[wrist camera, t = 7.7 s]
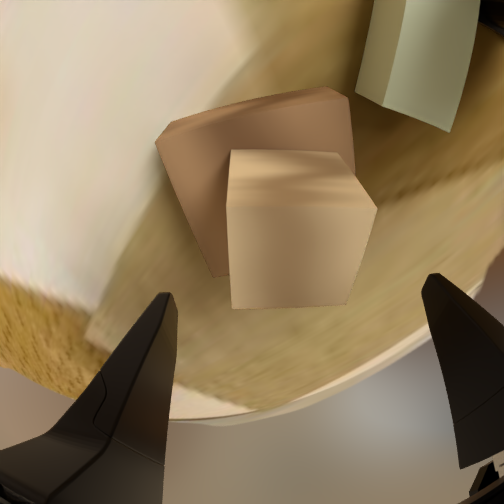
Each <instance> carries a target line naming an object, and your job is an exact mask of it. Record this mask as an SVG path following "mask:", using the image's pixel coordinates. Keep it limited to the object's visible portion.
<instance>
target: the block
mask: <svg viewBox="0 0 504 504" xmlns="http://www.w3.org/2000/svg"><path fill="white" fill-rule="evenodd" d="M479 7H480V0H374V6H373V11H372V16H371V21H370V26H369V31H368V36H367V40H366V45H365V49H364V54H363V58H362V63H361V67H360V71H359V75H358V80H357V84H356V88H355V92H356V93H358V94H360V95H362V96H364V97H365V98H367V99H369V100H371V101H373V102H375V103H377V104H379V105H381V106H383V107H386V108H389V109H391V110H394V111H397V112H400V113H403V114H405V115H408V116H411V117H413V118H416V119H418V120H421V121H423V122H426V123H428V124H431V125H433V126H435V127H438V128H440V129H442V130H445V131H447V132H449V133H450V130H451V127H452V124H453V121H454V118H455V115H456V112H457V109H458V105H459V102H460V99H461V95H462V91H463V88H464V84H465V80H466V76H467V72H468V68H469V64H470V60H471V55H472V50H473V45H474V40H475V34H476V28H477V22H478V15H479Z"/></svg>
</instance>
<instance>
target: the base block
mask: <svg viewBox="0 0 504 504" xmlns="http://www.w3.org/2000/svg"><path fill="white" fill-rule="evenodd" d="M155 144H156V146H157V149H158V151H159V154H160V156H161V159H162V161H163V164H164V166H165V169H166V171H167V174H168V176H169V178H170V181H171V183H172V186H173V188H174V190H175V193H176V195H177V198H178V200H179V202H180V205H181V207H182V209H183V212H184V214H185V216H186V218H187V221H188V223H189V225H190V228H191V230H192V232H193V234H194V237H195V239H196V241H197V243H198V246H199V248H200V250H201V252H202V255H203V257H204V259H205V261H206V263H207V265H208V268H209V270H210V272H211V274H212V276H213V278H214V277H219V276H224V275H229V274H230V270H229V253H228V234H227V213H226V203H227V191H228V179H229V167H230V156H231V150H240V149H266V150H303V151H322V152H337V153H338V154H339V155H340V156H341V158H342V159H343V160H344V162H345V163H346V164H347V166H348V167H349V168H350V170H351V171H352V173H353V174H354V175H355V177H356V173H355V159H354V146H353V135H352V126H351V117H350V108H349V101H348V98H347V97H346V96H344V95H342V94H340V93H338V92H336V91H335V90H333V89H331V88H329V87H327V86H326V87H318V88H311V89H304V90H298V91H292V92H286V93H281V94H276V95H271V96H266V97H261V98H256V99H252V100H247V101H243V102H239V103H235V104H231V105H227V106H223V107H219V108H216V109H212V110H208V111H205V112H201V113H198V114H195V115H191V116H188V117H185V118H182V119H179V120H176V121H173V122H171V123H170V124H169V125H168V126H167V127H166V129H165V130H164V131H163V132H162V134H161V135H160V136H159V137H158V139H157V140H156V141H155Z"/></svg>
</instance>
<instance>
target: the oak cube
mask: <svg viewBox="0 0 504 504" xmlns="http://www.w3.org/2000/svg"><path fill="white" fill-rule="evenodd" d="M376 212H377V207H376V206H375V204H374V203H373V201H372V200H371V198H370V197H369V195H368V194H367V192H366V191H365V189H364V188H363V187H362V185H361V184H360V182H359V181H358V179H357V178H356V177H355V175H354V174H353V173H352V171H351V170H350V168H349V167H348V166H347V164H346V163H345V162H344V160H343V159H342V158H341V156H340V155H339V154H338V153H337V152H322V151H303V150H266V149H240V150H231V156H230V167H229V179H228V191H227V203H226V213H227V234H228V253H229V270H230V287H231V303H232V309H268V308H298V307H320V306H338V305H346V304H347V301H348V298H349V296H350V293H351V290H352V287H353V284H354V282H355V279H356V276H357V273H358V270H359V267H360V264H361V261H362V258H363V255H364V252H365V249H366V246H367V243H368V239H369V236H370V233H371V229H372V226H373V223H374V219H375V216H376Z"/></svg>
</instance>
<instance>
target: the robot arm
mask: <svg viewBox="0 0 504 504" xmlns="http://www.w3.org/2000/svg"><path fill="white" fill-rule="evenodd" d="M478 23H480V24H482V25H484V26H485V27H487V28H489V29H491V30H493V31H494V32H496V33H498V34H499V35H501V36H503V37H504V0H480V7H479V15H478ZM421 295H422V299H423V303H424V307H425V311H426V315H427V320H428V324H429V328H430V332H431V336H432V339H433V342H434V345H435V349H436V352H437V356H438V359H439V362H440V366H441V370H442V374H443V378H444V382H445V386H446V391H447V394H448V399H449V404H450V409H451V414H452V419H453V424H454V425H453V426H454V431H455V438H456V445H457V452H458V460H459V467H460V469H463V468H465V467H468V466H470V465H473V464H475V463H478V462H480V461H482V460H485V459H487V458H489V457H491V456H492V458H493V460H492V461H490V462H489V463H487V464H486V465H484V466H482V467H481V468H480V469H479V471H478V474H477V476H476V478H475V480H474V483H473V485H472V487H471V489H470V491H469V495H470V497H469V498H467V499H465V500H464V501H462V502H460V503H458V504H504V326H503V325H502V324H501V323H500V322H499V321H498V320H497V319H495V318H494V317H493V316H492V315H491V314H490V313H488V312H487V311H486V310H485V309H484V308H482V307H481V306H480V305H479V304H478V303H477V302H475V301H474V300H473V299H472V298H470V297H469V296H468V295H467V294H466V293H464V292H463V291H462V290H460V289H459V288H458V287H457V286H455V285H454V284H453V283H452V282H450V281H449V280H448V279H446V278H445V277H444V276H442V275H441V274H440V273H433V274H429V275H428V277H427V279H426V281H425V284H424V286H423V288H422V291H421ZM177 322H178V311H177V307H176V304H175V301H174V298H173V295H172V294H171V293H170V292H161V293H159V294H157V296H156V297H155V298H154V299H153V301H152V302H151V303H150V304H149V306H148V307H147V308H146V310H145V311H144V312H143V313H142V315H141V316H140V317H139V319H138V320H137V321H136V322H135V324H134V325H133V326H132V328H131V329H130V330H129V331H128V333H127V334H126V335H125V337H124V338H123V339H122V341H121V342H120V343H119V345H118V346H117V347H116V349H115V350H114V351H113V353H112V354H111V355H110V357H109V358H108V359H107V361H106V362H105V363H104V365H103V366H102V368H101V369H100V371H99V372H98V373H97V374H96V376H95V377H94V378H93V380H92V381H91V382H90V384H89V385H88V386H87V388H86V389H85V390H84V392H83V393H82V394H81V395H80V396H79V397H78V399H77V400H76V401H75V402H74V403H73V404H72V406H71V407H70V408H69V409H68V410H67V411H66V413H65V414H64V415H63V416H62V417H61V418H60V419H59V421H58V422H57V423H56V424H55V425H54V426H53V427H52V428H51V429H50V430H49V431H47V432H46V433H44V434H42V435H40V436H38V437H36V438H33V439H30V440H28V441H25V442H23V443H20V444H17V445H14V446H12V447H9V448H6V449H3V450H0V504H162V496H163V479H164V464H165V452H166V441H167V430H168V421H169V411H170V403H171V394H172V386H173V378H174V371H175V364H176V354H177Z"/></svg>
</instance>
